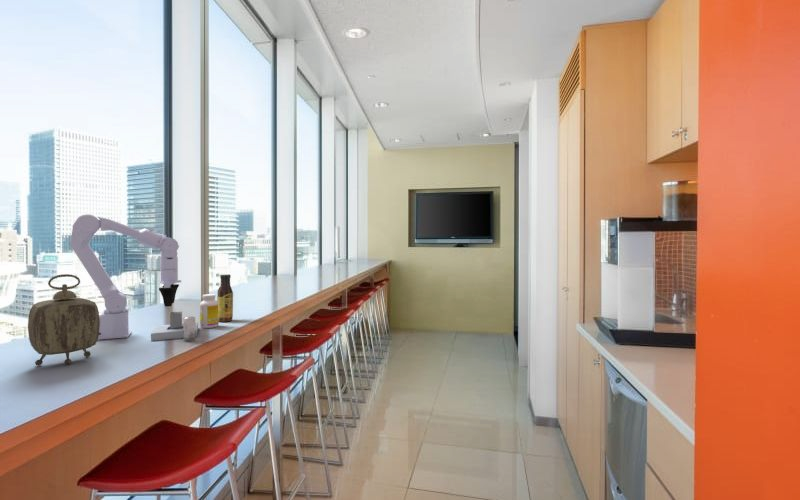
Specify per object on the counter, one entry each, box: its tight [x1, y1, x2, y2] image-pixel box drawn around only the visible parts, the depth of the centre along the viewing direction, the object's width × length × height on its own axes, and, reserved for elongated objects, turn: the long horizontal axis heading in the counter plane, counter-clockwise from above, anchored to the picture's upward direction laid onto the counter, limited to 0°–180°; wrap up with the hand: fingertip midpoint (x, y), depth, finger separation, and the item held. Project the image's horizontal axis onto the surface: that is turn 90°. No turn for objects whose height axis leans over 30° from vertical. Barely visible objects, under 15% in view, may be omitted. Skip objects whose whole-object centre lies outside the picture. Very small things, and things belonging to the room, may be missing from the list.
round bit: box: [182, 316, 196, 343], centre depth 137 cm, size 4×4×8 cm
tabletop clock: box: [27, 273, 100, 366], centre depth 112 cm, size 14×9×25 cm, turn 141°
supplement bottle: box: [199, 293, 219, 329], centre depth 159 cm, size 7×7×13 cm
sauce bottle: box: [216, 273, 234, 323], centre depth 170 cm, size 6×6×20 cm
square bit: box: [169, 311, 183, 329], centre depth 146 cm, size 4×4×8 cm
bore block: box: [150, 321, 199, 342], centre depth 146 cm, size 14×14×2 cm
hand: (169, 304), depth 152 cm, fingers open, 7 cm apart
